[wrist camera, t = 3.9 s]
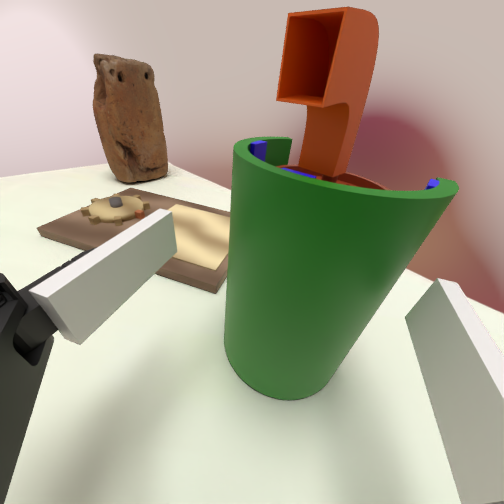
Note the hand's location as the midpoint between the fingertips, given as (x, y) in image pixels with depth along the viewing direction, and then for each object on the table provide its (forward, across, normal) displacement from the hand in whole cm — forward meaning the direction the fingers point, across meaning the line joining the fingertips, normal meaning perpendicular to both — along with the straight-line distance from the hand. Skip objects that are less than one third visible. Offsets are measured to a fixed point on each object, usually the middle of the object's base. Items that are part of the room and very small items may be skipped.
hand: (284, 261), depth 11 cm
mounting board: (+14, -19, -11) cm, 26 cm away
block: (+30, -36, -11) cm, 48 cm away
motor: (+2, +1, -11) cm, 11 cm away
